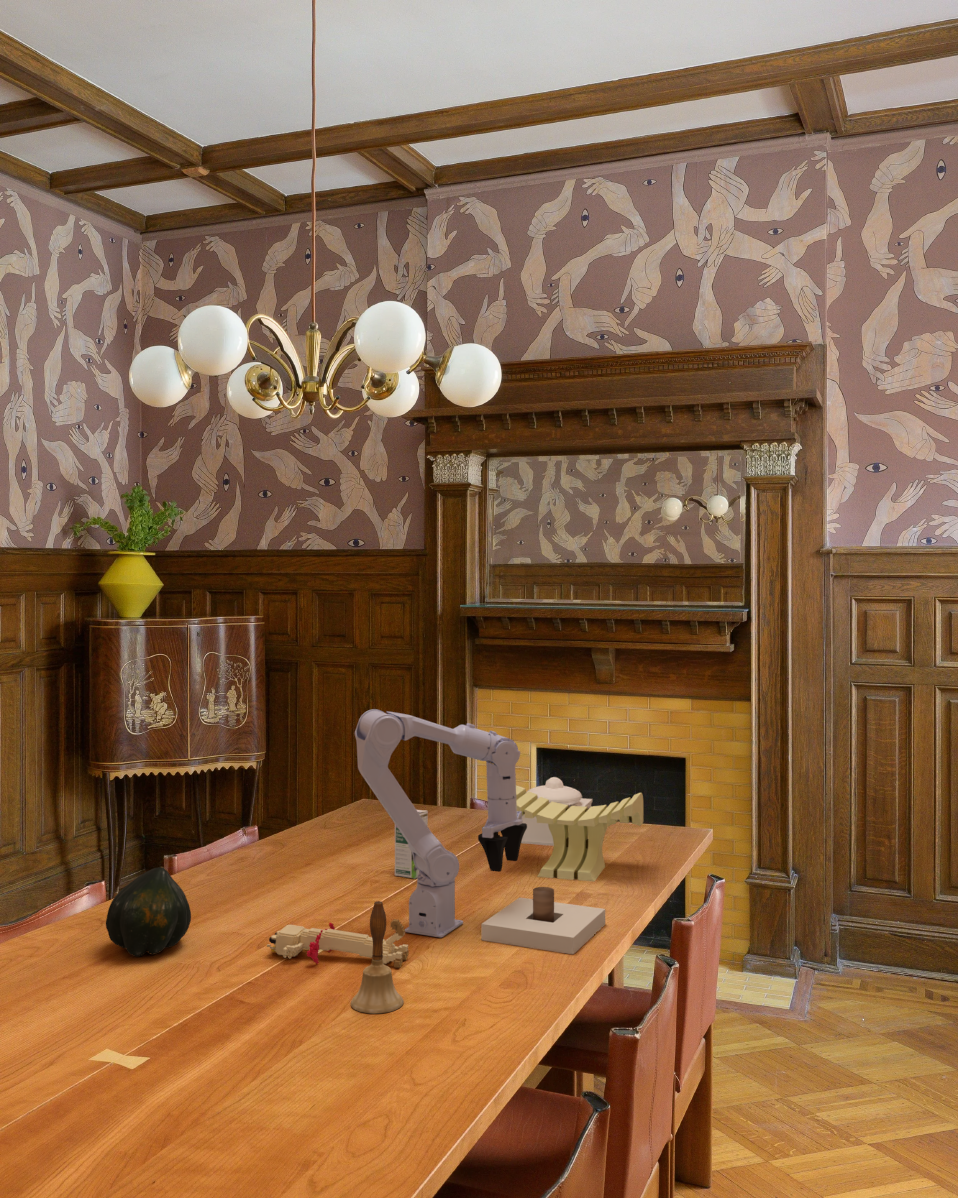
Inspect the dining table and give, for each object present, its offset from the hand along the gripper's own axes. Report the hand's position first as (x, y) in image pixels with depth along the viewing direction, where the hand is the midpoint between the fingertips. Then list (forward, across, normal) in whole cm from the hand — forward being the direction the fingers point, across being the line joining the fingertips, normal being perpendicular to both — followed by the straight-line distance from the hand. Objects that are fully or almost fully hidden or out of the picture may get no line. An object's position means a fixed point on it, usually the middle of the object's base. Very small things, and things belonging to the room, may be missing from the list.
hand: (504, 865), depth 205 cm
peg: (+10, -4, -10) cm, 15 cm away
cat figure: (+10, -33, +18) cm, 39 cm away
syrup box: (+10, +19, +32) cm, 39 cm away
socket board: (+10, -4, -10) cm, 15 cm away
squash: (+8, -44, +51) cm, 68 cm away
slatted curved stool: (+12, +38, +1) cm, 40 cm away
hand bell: (+9, -47, +1) cm, 48 cm away
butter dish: (+12, +65, +17) cm, 69 cm away
